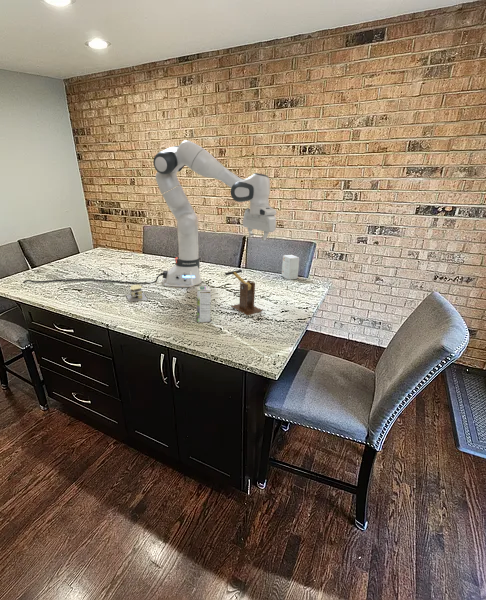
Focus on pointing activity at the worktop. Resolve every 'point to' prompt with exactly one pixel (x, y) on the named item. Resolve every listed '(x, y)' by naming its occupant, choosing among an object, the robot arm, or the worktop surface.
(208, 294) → the syrup box
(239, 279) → the lever
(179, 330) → the worktop surface
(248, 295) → the bracket
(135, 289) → the stacked layers on plate
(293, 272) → the small box
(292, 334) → the worktop surface
